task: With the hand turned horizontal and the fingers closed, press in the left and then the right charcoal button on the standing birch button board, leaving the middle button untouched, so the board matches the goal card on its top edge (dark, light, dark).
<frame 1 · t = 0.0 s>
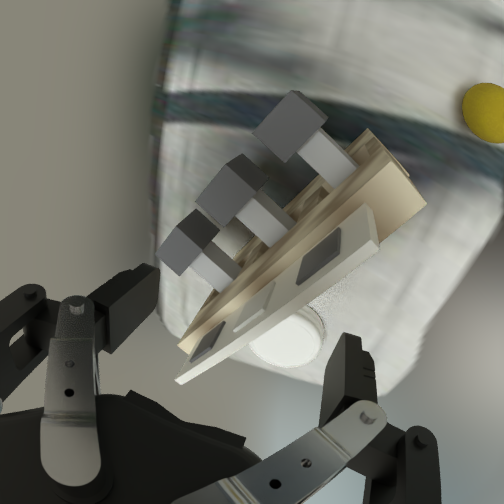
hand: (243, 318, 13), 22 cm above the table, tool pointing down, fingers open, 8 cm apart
board: (306, 205, 33), on the table
goal card: (258, 309, 18), on the board, point 18 cm above the table
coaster: (287, 325, 42), on the table
lemon: (474, 109, 23), on the table
button mid: (265, 218, 25), point 9 cm above the table, slide at 0.0 cm
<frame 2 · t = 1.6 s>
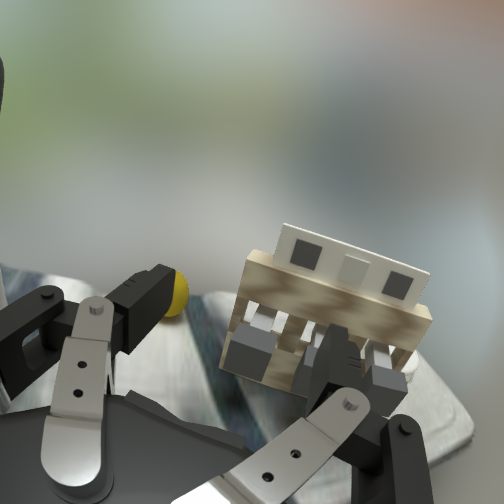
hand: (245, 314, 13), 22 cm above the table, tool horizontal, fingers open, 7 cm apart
board: (297, 387, 38), on the table
goal card: (353, 269, 30), on the board, point 18 cm above the table
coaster: (384, 366, 46), on the table
lemon: (166, 316, 45), on the table
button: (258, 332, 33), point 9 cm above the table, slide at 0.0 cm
button mid: (320, 352, 32), point 9 cm above the table, slide at 0.0 cm
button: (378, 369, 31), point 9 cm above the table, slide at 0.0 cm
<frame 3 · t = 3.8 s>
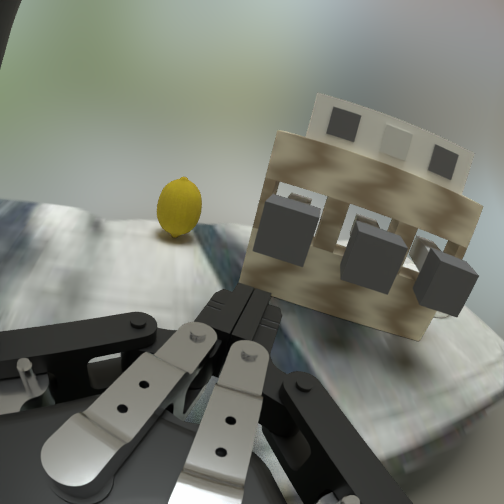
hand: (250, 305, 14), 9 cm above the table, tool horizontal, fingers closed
board: (334, 308, 33), on the table
goal card: (395, 142, 25), on the board, point 18 cm above the table
lemon: (174, 238, 40), on the table
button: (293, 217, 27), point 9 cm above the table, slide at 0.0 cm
button mid: (367, 242, 27), point 9 cm above the table, slide at 0.0 cm
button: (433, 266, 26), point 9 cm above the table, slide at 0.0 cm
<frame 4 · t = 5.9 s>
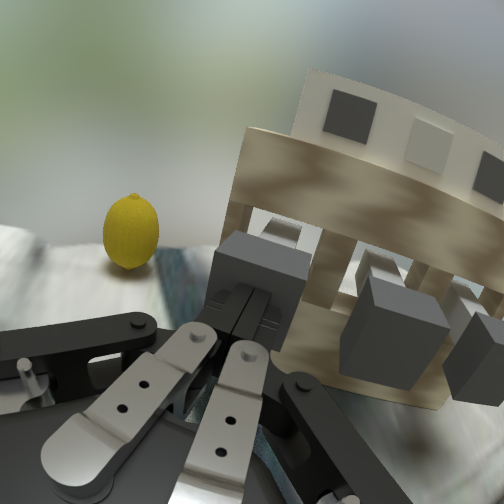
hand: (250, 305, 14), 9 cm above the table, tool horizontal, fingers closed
board: (330, 373, 23), on the table
goal card: (428, 146, 16), on the board, point 18 cm above the table
lemon: (128, 271, 30), on the table
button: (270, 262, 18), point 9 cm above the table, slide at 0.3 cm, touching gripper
button mid: (383, 300, 17), point 9 cm above the table, slide at 0.0 cm
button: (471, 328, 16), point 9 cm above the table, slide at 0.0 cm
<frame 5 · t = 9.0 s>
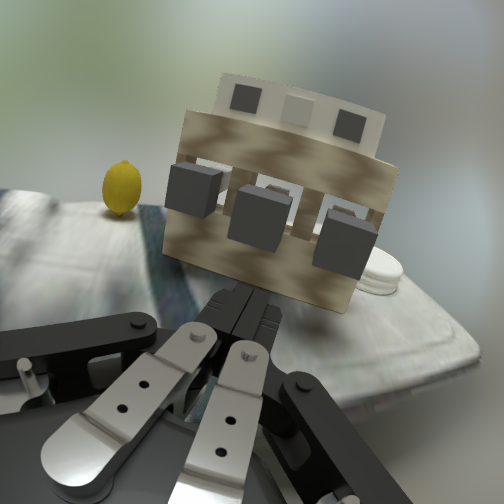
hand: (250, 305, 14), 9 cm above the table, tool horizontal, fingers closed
board: (253, 277, 35), on the table
goal card: (297, 110, 27), on the board, point 18 cm above the table
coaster: (362, 278, 43), on the table
lemon: (119, 216, 42), on the table
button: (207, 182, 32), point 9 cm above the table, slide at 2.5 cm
button mid: (268, 207, 28), point 9 cm above the table, slide at 0.0 cm
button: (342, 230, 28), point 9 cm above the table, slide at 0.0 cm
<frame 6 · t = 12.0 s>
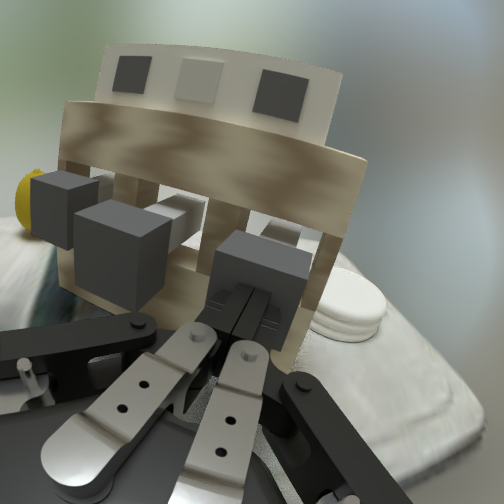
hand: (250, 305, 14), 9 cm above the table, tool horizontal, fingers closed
board: (163, 323, 24), on the table
goal card: (200, 80, 17), on the board, point 18 cm above the table
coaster: (332, 315, 32), on the table
lemon: (37, 235, 31), on the table
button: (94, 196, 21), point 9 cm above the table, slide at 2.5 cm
button mid: (154, 231, 18), point 9 cm above the table, slide at 0.0 cm
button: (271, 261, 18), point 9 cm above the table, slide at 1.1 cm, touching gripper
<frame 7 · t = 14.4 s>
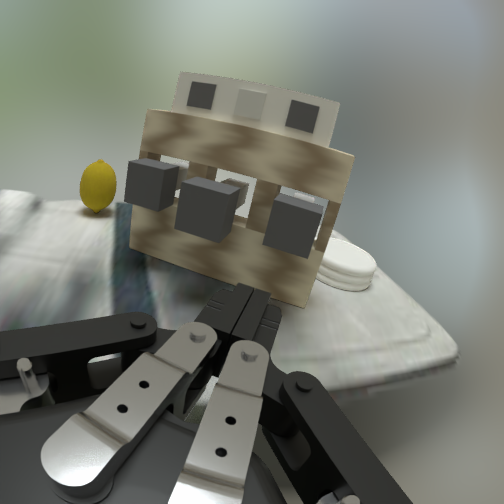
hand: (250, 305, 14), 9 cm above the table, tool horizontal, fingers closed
board: (214, 271, 35), on the table
goal card: (250, 104, 27), on the board, point 18 cm above the table
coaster: (335, 274, 43), on the table
lemon: (96, 214, 42), on the table
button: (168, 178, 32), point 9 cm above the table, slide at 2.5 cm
button mid: (221, 199, 29), point 9 cm above the table, slide at 0.0 cm
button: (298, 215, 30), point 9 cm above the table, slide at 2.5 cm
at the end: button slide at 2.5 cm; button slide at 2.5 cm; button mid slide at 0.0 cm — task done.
